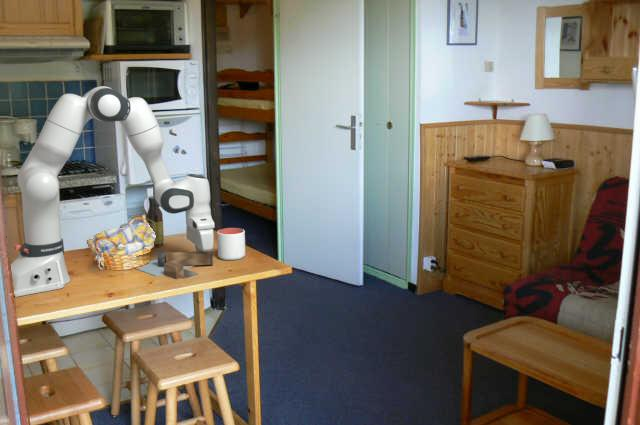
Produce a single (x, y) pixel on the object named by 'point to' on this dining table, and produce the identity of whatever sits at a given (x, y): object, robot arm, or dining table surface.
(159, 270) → the blue-grey square mat
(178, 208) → the robot arm
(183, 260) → the leg
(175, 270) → the stop block
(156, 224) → the sauce bottle
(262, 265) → the dining table surface
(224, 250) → the cup
